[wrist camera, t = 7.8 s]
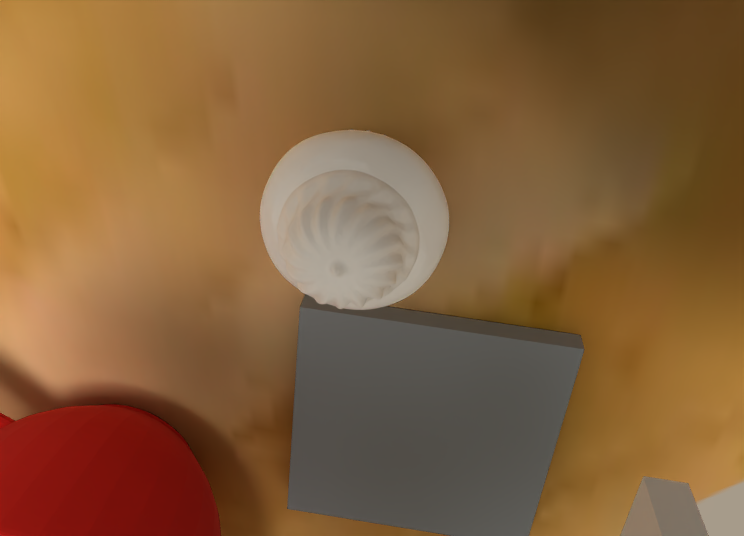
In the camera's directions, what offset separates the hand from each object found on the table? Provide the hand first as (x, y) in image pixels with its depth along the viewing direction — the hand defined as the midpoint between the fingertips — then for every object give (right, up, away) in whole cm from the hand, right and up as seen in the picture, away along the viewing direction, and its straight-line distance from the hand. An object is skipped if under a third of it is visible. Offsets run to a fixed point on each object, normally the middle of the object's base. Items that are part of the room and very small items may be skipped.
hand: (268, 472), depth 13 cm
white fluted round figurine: (+2, +7, +13) cm, 15 cm away
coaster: (+4, -3, +18) cm, 18 cm away
